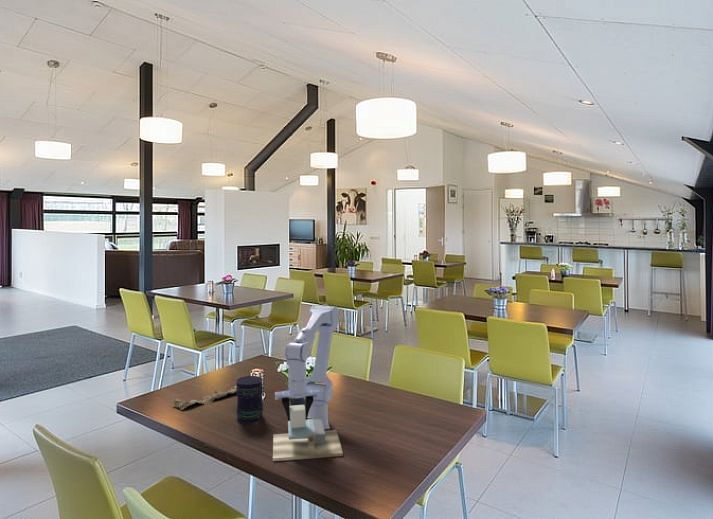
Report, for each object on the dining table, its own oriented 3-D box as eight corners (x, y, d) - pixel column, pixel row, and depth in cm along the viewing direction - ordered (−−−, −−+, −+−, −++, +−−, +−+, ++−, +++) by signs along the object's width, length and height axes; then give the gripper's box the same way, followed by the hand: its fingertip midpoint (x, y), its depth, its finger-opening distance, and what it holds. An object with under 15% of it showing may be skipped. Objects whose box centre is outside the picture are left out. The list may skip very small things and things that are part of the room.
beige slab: (273, 437, 161) (273, 418, 161) (336, 432, 165) (336, 414, 165) (272, 461, 145) (272, 440, 144) (342, 455, 148) (342, 435, 148)
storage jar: (234, 415, 180) (233, 378, 179) (259, 411, 184) (258, 374, 183) (240, 425, 171) (239, 385, 170) (266, 420, 175) (265, 381, 175)
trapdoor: (288, 429, 160) (287, 420, 160) (321, 427, 162) (321, 418, 161) (288, 445, 148) (288, 436, 147) (325, 443, 149) (324, 433, 149)
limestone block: (289, 421, 156) (289, 405, 155) (304, 420, 157) (304, 404, 156) (290, 428, 151) (289, 411, 151) (305, 426, 152) (305, 410, 151)
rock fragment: (240, 387, 216) (240, 380, 216) (254, 392, 210) (254, 385, 210) (170, 406, 190) (170, 398, 190) (184, 412, 183) (184, 405, 183)
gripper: (274, 384, 148) (275, 425, 149) (320, 381, 150) (320, 422, 151) (274, 377, 155) (275, 416, 156) (318, 374, 157) (318, 414, 158)
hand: (297, 419), depth 154 cm, fingers closed on limestone block, 5 cm apart
